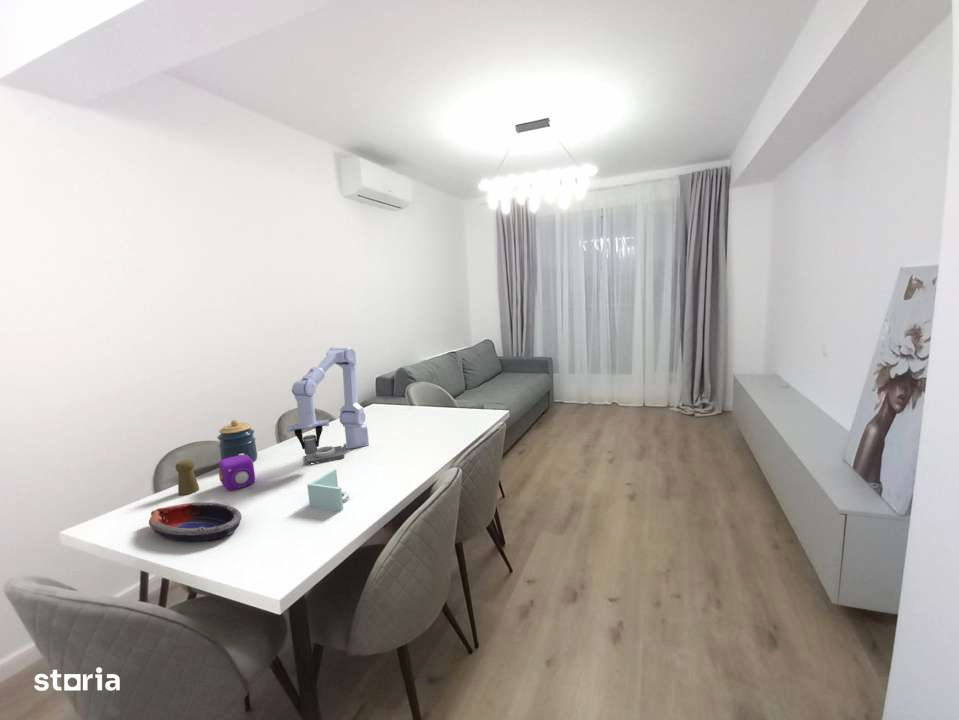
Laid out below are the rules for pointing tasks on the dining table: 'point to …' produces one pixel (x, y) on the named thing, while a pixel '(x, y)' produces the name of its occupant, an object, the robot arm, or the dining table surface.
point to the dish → (195, 521)
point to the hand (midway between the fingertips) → (310, 447)
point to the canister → (237, 440)
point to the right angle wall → (327, 492)
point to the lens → (310, 444)
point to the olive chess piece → (186, 478)
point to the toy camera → (236, 472)
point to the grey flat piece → (325, 454)
